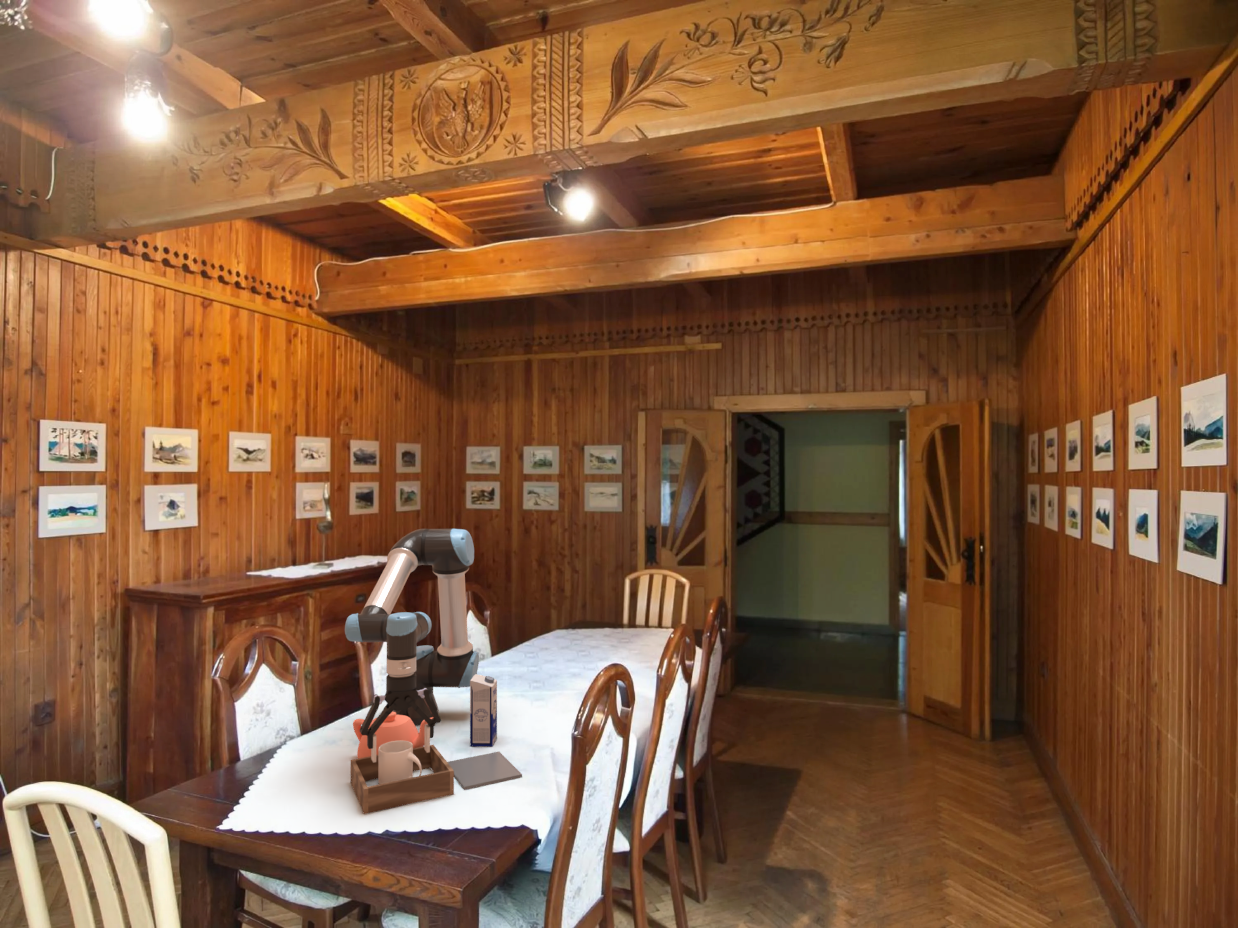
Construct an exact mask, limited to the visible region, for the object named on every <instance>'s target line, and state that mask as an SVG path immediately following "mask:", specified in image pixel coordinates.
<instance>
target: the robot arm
mask: <svg viewBox="0 0 1238 928" xmlns="http://www.w3.org/2000/svg"><path fill="white" fill-rule="evenodd" d="M474 559H475V547H474V542H473V538H472V536H471V534H470V532H469V531H468V530H467V529H464V528H463V529H462V528H420V529H419V528H418V529H416V530H413V531H411V532H408V533H407V534H405V536H402V537H401V538H400V539H399V540H397V541H396V543H395V544H394V545H393V546H392V547H391V549H390V551H389V552H388V554H387V557H386V561H387V563H386V565H385V567H384V569H383V570H382V573H381V574H380V577H379V578H378V580H377V582H376V584H375V585H374V587H373V590H372V591H371V593H370V596H369V597H368V599H367V600H366V603H365V605H364V607H363V608H362V610H361V612H360V613H358V612H357V613H351V614H350V615H349V616H348V617H346V621H345V625H344V634H345V638H346V639H347V641H349V642H355V643H356V642H357V643H358V642H359V643H386V674H387V675H386V677H385V678H386V679H385V680H386V681H385V682H386V683H385V684H386V688H385V689H386V690H385V691H386V692H385V694H384V695H378V694H377V693H376V694H373V696H372V697H373V698H372V703H371V705H370V708H369V710H368V712H367V714H366V716H365V719H364V722H363V724H362V725H361V728H360V733H361V734H362V735H366V736H367V746H368V748H369V749H371V759H372V761H373V763H374V762H376V735H375V732H376V731H377V730H378V728H379V727H380V726H381V724H382V723H383V722H384V721H385V719H386V718H387V717H388V715H389V714H391V712H396V715H404V716H408V717H409V718H410V719H411V720H412V721H413V723H414V725H415V726H418V725H421V723H422V721H423V720H425V721H426V722H427V723H428V724H426V725H425V736H424V749H425V751H426V752H427V753H428V752H430V745H431V739H433V738H434V733H435V731H434V730H435V729H434V728H435V726H436V724H440V723H441V721H442V719H441V717H440V714H439V707H438V704H437V700H436V697H435V695H434V688H458V689H460V688H470V680H471V679H472V678H473V676H474V675H475V674H477V675H478V670H479V663H480V654H479V652H478V651H476V650H474V646H473V644H472V643H471V641H469V639H468V637H469V635H468V618H467V617H468V616H467V615H468V613H467V598H466V597H467V595H466V593H467V592H466V577H465V574H466V573H467V572H468V571H469V570H470V566H471V565H473V563H474ZM422 565H423V566H432V573H433V574H434V575H435V576H437V587H438V589H437V590H438V601H439V602H438V605H439V620H440V637H441V638H440V639H441V643H440V645H439V646H438V647H437V649H436V650H435V648H434V646H432V645H427V644H426V645H418V644H417V643H419V642H420V641H422V640H424V639H426V637H427V636H428V634H429V633H430V632H431V630H432V620H431V618H430V617H429V615H428V614H426V613H425V612H422V611H416V612H415V611H414V612H407V611H405V612H404V611H403V612H402V611H401V612H395V613H392V611H393V610H394V607H395V606H396V603H397V601H398V599H399V597H400V595H401V593H402V591H403V589H404V588H405V587H404V586H405V585H406V583H407V580H408V578H409V577H410V574H411V573H412V572H414V571H415V570H416V569H417V567H418V566H422ZM417 645H418V646H417ZM384 701H385V703H386V704H385V706H384V707H383V710H382V711H381V712H380V713H379V714H378V716H377V717H376V718H377V719H376V720H375V721H374V722H373V724H372V725H371V726H370V724H371V722H372V720H373V719H375V718H374V717H375V716H376V713H377V712H378V710H379V707H380V705H382V704H383V702H384ZM432 717H433V718H432ZM430 718H432V719H430ZM369 726H370V728H369ZM368 728H369V729H368Z"/></svg>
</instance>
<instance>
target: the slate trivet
mask: <svg viewBox="0 0 1238 928" xmlns="http://www.w3.org/2000/svg"><path fill="white" fill-rule="evenodd" d="M447 763H448V764H449V765H450V766H451V768H452V769H453V770H454V780H456V782H457V783H458V785H460V787H461V788H462V789H463V791H465V790H470V789H471V790H472V789H475V788H479V787H484V786H488V785H492V784H493V785H494V784H497V783H498V784H499V783H501V782H503V783H504V782H507V781H511V780H516V779H520V778H523V774H522V773H521V772H520V771H519V770H518V768H516V767H515V766H514V764H512V762H510V761H509V759H507V757H505V756H504V755H503V753H502V752H501V751H494V752H490V753H489V752H488V753H485V754H480V755H475V756H470V757H464V758H461V759H455V760H449V761H447Z"/></svg>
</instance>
